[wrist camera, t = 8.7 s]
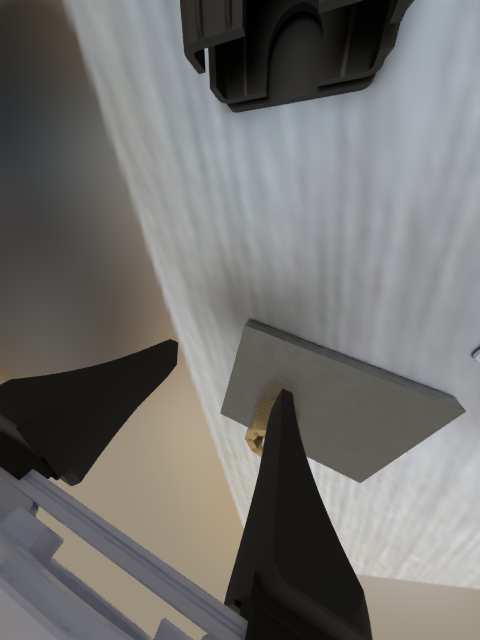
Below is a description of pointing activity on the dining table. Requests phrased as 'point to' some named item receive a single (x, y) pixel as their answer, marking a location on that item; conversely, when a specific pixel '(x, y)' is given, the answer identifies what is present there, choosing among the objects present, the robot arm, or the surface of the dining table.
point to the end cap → (288, 46)
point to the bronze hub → (259, 425)
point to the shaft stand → (335, 401)
